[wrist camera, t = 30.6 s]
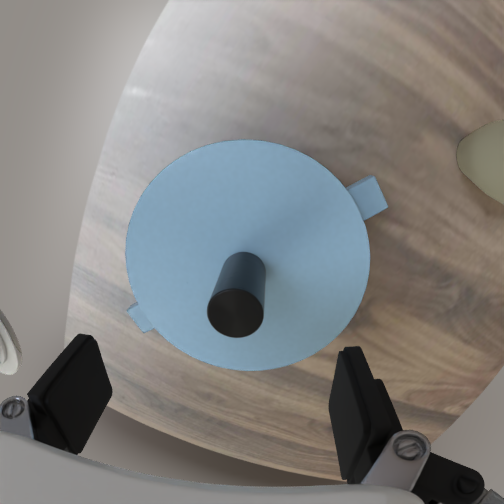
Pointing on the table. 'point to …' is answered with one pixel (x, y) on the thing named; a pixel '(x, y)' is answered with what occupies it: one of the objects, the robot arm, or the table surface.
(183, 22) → the table surface
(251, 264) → the lid
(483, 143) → the mug
